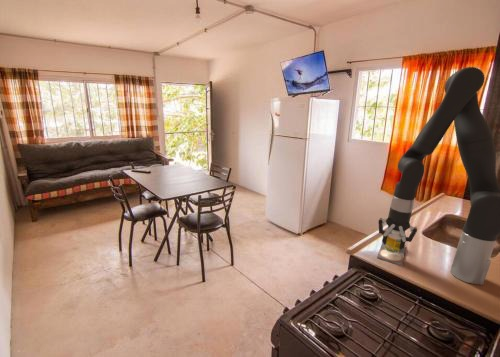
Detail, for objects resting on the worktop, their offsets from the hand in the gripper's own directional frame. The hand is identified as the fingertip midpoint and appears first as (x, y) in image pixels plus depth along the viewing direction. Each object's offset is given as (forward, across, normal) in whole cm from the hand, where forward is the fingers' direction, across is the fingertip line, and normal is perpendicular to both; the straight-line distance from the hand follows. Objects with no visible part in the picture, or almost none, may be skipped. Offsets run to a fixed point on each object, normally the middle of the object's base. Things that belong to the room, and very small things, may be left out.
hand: (392, 245), depth 106 cm
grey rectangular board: (+5, 0, +4) cm, 7 cm away
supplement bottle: (+2, 0, 0) cm, 2 cm away
